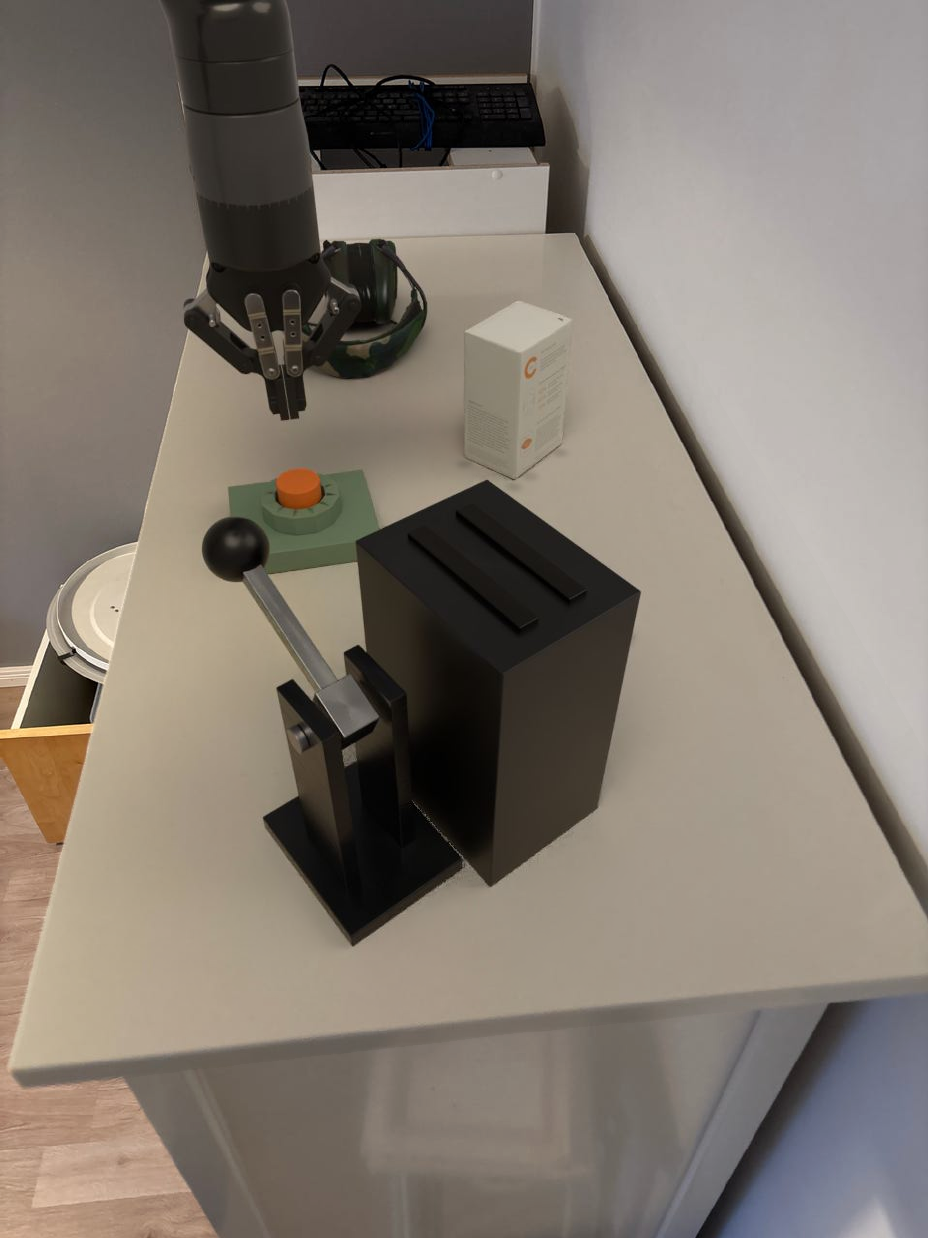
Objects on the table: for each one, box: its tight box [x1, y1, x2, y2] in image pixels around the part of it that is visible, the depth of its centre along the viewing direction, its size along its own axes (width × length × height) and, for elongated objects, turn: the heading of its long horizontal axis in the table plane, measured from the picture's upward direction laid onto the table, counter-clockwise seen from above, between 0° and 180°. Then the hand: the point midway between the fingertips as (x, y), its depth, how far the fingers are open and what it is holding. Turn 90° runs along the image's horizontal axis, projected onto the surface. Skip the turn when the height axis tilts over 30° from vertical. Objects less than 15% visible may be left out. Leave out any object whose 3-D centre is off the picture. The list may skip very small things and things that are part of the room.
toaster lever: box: [201, 516, 380, 751], centre depth 47 cm, size 14×4×4 cm, turn 39°
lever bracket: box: [262, 644, 463, 947], centre depth 50 cm, size 10×8×15 cm
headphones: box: [301, 238, 428, 379], centre depth 100 cm, size 13×13×20 cm
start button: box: [276, 467, 322, 510], centre depth 74 cm, size 4×4×2 cm
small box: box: [463, 300, 574, 480], centre depth 82 cm, size 8×6×13 cm
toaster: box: [355, 479, 642, 888], centre depth 52 cm, size 12×9×19 cm
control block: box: [227, 469, 381, 575], centre depth 76 cm, size 12×10×4 cm
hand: (289, 414), depth 69 cm, fingers closed
